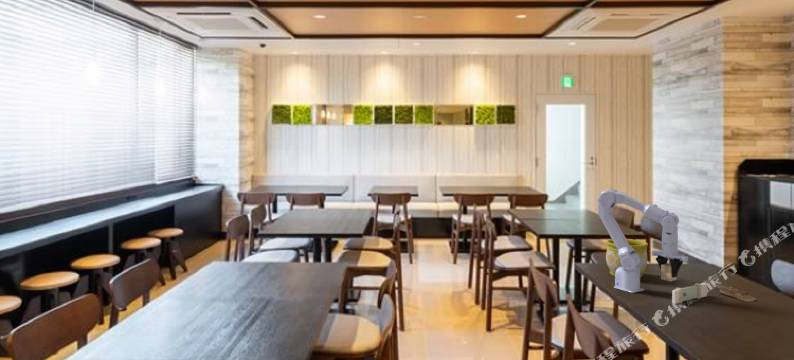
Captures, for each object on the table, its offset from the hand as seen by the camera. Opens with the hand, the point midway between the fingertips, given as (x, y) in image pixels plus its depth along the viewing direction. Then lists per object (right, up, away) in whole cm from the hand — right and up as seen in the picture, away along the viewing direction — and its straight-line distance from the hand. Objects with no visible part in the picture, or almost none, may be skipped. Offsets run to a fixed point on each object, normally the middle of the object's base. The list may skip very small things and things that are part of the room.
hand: (669, 275), depth 208 cm
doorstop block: (0, -2, 0) cm, 2 cm away
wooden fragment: (+28, -8, +3) cm, 29 cm away
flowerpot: (-3, -7, +32) cm, 33 cm away
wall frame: (+5, -9, -6) cm, 11 cm away
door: (+5, -8, -6) cm, 11 cm away
